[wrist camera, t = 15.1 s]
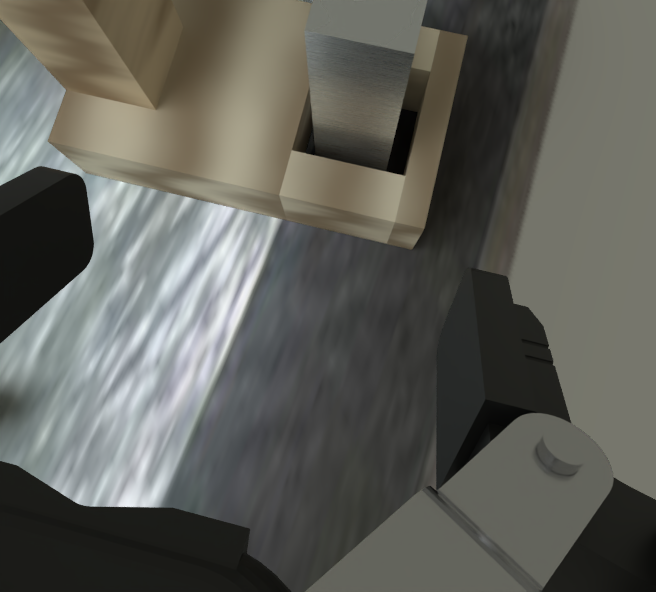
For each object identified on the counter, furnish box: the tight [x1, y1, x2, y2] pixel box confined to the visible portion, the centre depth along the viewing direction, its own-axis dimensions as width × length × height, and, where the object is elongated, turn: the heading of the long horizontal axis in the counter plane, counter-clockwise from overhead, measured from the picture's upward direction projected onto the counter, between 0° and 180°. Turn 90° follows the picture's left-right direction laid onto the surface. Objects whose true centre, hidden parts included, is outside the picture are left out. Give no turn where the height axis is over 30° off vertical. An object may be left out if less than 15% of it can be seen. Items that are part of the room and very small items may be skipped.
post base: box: [0, 0, 468, 250], centre depth 24 cm, size 20×11×12 cm, turn 76°
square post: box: [304, 0, 427, 172], centre depth 24 cm, size 4×4×12 cm
